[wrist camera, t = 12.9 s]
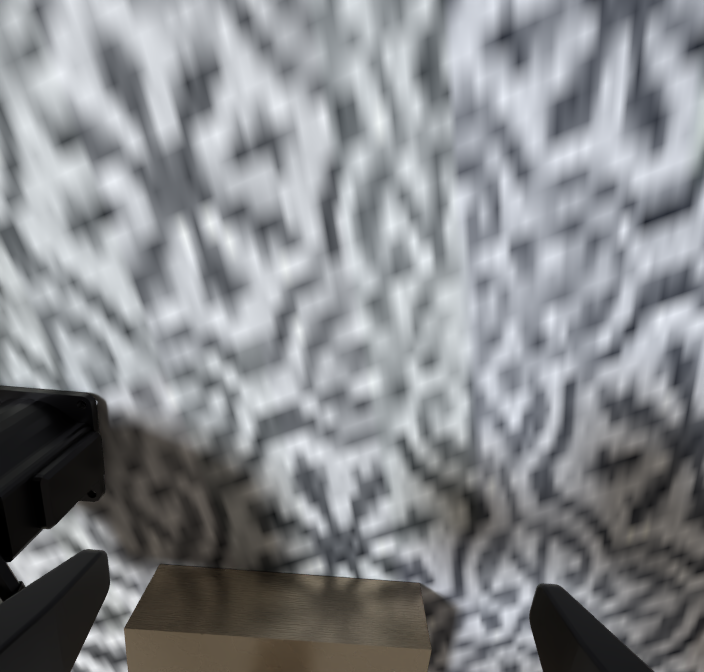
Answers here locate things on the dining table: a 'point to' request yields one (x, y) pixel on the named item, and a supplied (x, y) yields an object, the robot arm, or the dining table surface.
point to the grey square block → (275, 623)
